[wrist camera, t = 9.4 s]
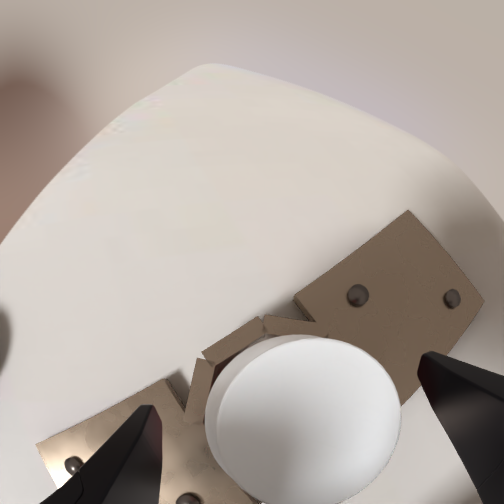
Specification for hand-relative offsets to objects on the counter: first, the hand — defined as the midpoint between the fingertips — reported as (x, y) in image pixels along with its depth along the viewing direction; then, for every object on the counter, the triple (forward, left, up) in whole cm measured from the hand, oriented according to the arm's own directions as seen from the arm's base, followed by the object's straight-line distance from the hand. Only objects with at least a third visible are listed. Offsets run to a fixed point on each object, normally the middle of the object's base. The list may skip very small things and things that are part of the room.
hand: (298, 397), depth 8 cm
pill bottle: (-1, 0, -9) cm, 9 cm away
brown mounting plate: (-1, 0, -9) cm, 9 cm away
